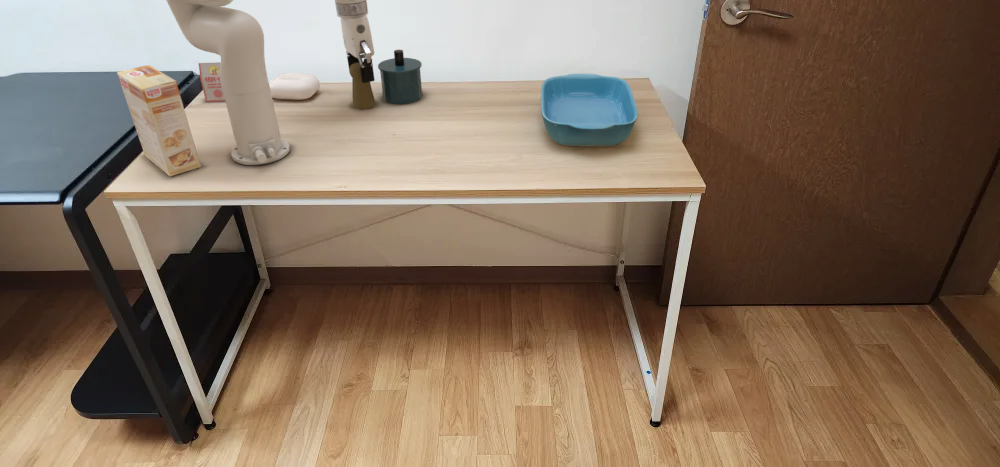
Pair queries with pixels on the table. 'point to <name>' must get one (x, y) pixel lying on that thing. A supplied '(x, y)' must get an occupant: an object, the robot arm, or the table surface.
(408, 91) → the pot
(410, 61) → the pot lid
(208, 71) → the tea bag
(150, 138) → the coffeecake box
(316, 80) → the earbud case
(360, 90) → the pepper mill
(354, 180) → the table surface
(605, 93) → the casserole dish
